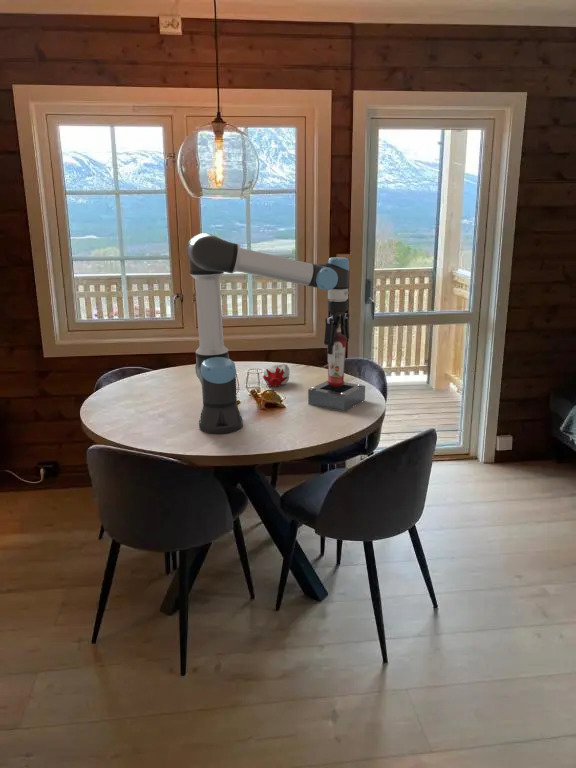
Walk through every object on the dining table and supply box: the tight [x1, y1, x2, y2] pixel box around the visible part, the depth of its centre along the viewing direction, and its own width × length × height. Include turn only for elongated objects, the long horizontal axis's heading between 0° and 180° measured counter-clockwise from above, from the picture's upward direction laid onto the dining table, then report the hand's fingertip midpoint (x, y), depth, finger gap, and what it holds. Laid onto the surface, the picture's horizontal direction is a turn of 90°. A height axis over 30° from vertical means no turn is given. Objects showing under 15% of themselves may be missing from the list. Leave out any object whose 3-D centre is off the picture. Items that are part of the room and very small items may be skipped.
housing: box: [307, 380, 366, 412], centre depth 227 cm, size 16×16×7 cm
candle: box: [262, 363, 290, 388], centre depth 249 cm, size 9×11×15 cm
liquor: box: [326, 314, 347, 387], centre depth 222 cm, size 7×7×28 cm
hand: (336, 360), depth 223 cm, fingers closed on liquor, 7 cm apart
